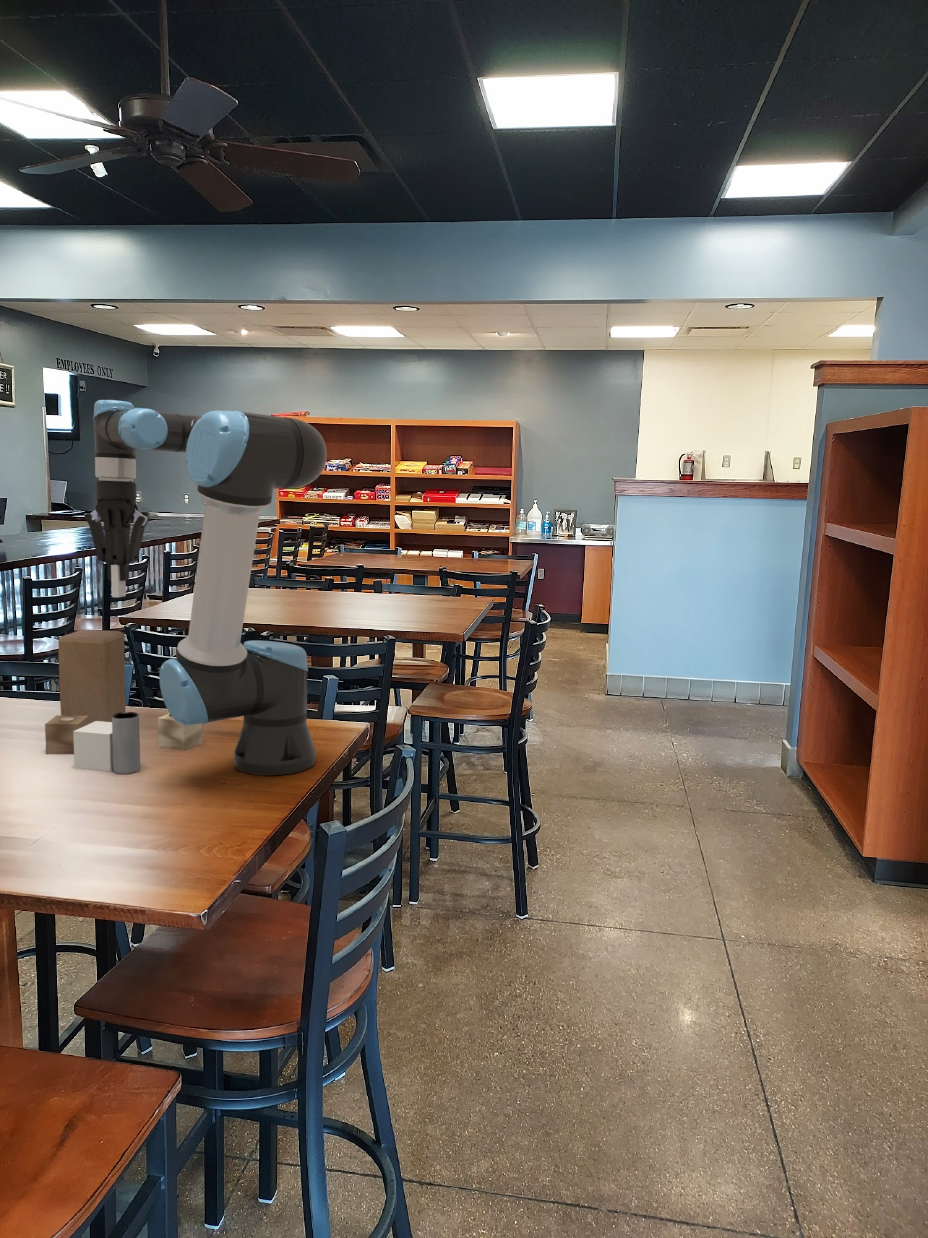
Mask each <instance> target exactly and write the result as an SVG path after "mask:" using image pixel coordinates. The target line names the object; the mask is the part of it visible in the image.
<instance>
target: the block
mask: <svg viewBox="0 0 928 1238" xmlns="http://www.w3.org/2000/svg"><path fill="white" fill-rule="evenodd" d="M57 644H58V672H59V673H58V674H59V675H58V676H59V699H60V715H70V716H89V724H90V723H93V722H95V721H103V722H112V715H114V714H116V713H121V712H127V711H126V681H125V680H126V677H125V673H126V671H125V668H126V667H125V635H124V632H122V631H120V630H97V629H96V630H95V629H80V630H78V631H77V630H76V631H73V632H70V633H68V634H65V635H62V636H59V638H58V640H57Z"/></svg>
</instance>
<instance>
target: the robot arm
mask: <svg viewBox="0 0 928 1238" xmlns="http://www.w3.org/2000/svg"><path fill="white" fill-rule="evenodd" d="M92 421H93V431H94V433H93V434H94V435H93V436H94V468H95V469H94V470H95V477H96V478H98V480H96V482H95V497H96V504H95V508H94V510H93V511H91V512H90V513H85V514H84V519H85V521H86V522H87V524H88V525H89V526H88V527H89V529H90V533H91V537H92V541H93V545H94V550H95V553H96V557H97V560H98V561H100V562H103V563H105V564H106V566H107V578H108V580H109V581H110V582H111V597H112V598H122V597H123V598H124V597H126V596H127V594H126V593H127V592H126V586H127V585H126V581H129V579H130V567H129V566H130V564H132V563H136V562H138V561H139V557H140V552H141V547H142V544H143V542H142V541H143V538H144V535H145V527H146V526H147V524H148V523H149V522H150V517H149V516H148V515H143V514H142V513H141V512H140V511H139V507H138V506H137V503H136V501H137V483H136V482H134V480H135V479H136V478H137V470H136V469H137V464H136V463H137V460H136V457H137V455H136V450H137V451H154V452H166V453H167V452H168V453H169V452H170V453H185V462H186V464H187V466H186V470H187V474H188V477H189V478H190V480H191V481H192V482H193V483H194V484H196V485H197V489H196V493H197V494H198V495H199V497H201V499H202V501H204V504H205V506H204V512H203V520H202V526H201V527H202V528H201V534H200V535H201V536H200V543H199V550H198V558H197V564H196V565H197V566H196V574H195V581H194V589H193V590H194V591H193V597H192V604H191V611H190V620H189V627H188V636H186V637H185V638H183V639H182V640H180V641H179V642H178V644H177V650H176V656H175V658H169V659H168V660H165V661H164V662H163V663H162V665H161V666H160V669H159V676H158V677H159V687H160V692H161V696H162V699H163V702H164V705H165V707H166V710H168V714H171V716H172V717H173V718H174V719H175V720H176V721H177V722H178V723H180V724H183V725H194V724H202V725H206V724H208V723H212V722H218V721H222V720H228V719H233V718H240V717H243V724H242V728H241V730H240V733H239V737H238V739H237V742H236V745H235V749H234V753H233V766H234V767H235V769H237V770H239V771H240V772H243V773H247V774H250V775H251V774H252V775H257V776H282V775H283V776H285V775H290V774H295V773H300V772H303V771H306V770H308V769H310V768H312V767H313V766H314V765H315V764H316V753H317V751H316V748H315V744H314V741H313V739H312V736H311V732H310V729H309V726H308V722H307V721H308V720H307V716H308V715H307V711H308V710H307V707H308V704H307V703H308V672H309V668H308V655H307V652H306V650H305V649H304V648H303V647H301V646H299V645H296V644H293V643H286V642H279V641H270V640H247V641H244V643H241V639H242V633H243V626H244V625H243V624H244V620H245V613H246V605H247V599H248V593H249V587H250V581H251V580H250V579H251V573H252V568H253V567H252V566H253V560H254V553H255V547H256V542H257V535H258V534H257V533H258V527H259V521H260V514H261V513H262V511H263V510H265V509H266V508H267V507H270V506H271V504H272V500H273V493H274V490H275V489H276V490H278V489H279V490H284V489H285V490H290V489H291V490H292V489H293V490H295V489H299V488H302V487H305V486H307V485H310V484H311V483H313V482H314V481H315V480H317V479H318V478H319V476H320V475H321V474H322V472H323V470H324V469H325V466H326V463H327V456H328V454H327V453H328V452H327V446H326V443H325V440H324V437H323V436H322V434H321V433H320V432H319V431H318V430H317V429H316V428H315V427H314V426H312V425H311V424H309V422H306V421H303V420H301V419H298V418H294V417H293V418H292V417H286V416H277V415H276V416H275V415H267V414H261V413H253V412H247V411H239V410H211V411H208V412H206V413H204V414H203V415H195V414H194V415H193V414H182V413H175V412H174V413H173V412H167V411H165V412H164V411H157V410H154V409H151V408H143V407H142V408H141V407H135V406H134V404H133V403H132V402H130V401H125V400H124V401H123V400H115V399H99V400H97V401H95V403H94V407H93V417H92ZM101 520H102V522H103V524H102V522H101ZM132 522H133V523H134V524H133V525H132V530H131V523H132ZM130 532H131V535H130ZM104 533H105V534H104Z"/></svg>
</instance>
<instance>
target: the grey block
mask: <svg viewBox="0 0 928 1238" xmlns="http://www.w3.org/2000/svg"><path fill="white" fill-rule="evenodd" d="M73 737H74V754H73V760H74V761H73V762H74V769H81V770H89V771H91V770H92V771H103V772H113V743H112V722H103V721H95V722H93V723H90V724H88V725H86V726H84V727H82V728H79V729H77V730H75V731H73Z"/></svg>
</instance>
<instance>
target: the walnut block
mask: <svg viewBox="0 0 928 1238" xmlns="http://www.w3.org/2000/svg"><path fill="white" fill-rule="evenodd" d="M88 724H89V716H70V715H61V714H60V715H59V714H58V715H55V716H54V717H52V718H51V719H50V720H48V721H47V722H45V723H44V730H45V731H44V732H45V733H44V735H45V737H44V738H45V755H74V737H73V731H75V730H77V729H79V728H82V727H84V726H86V725H88Z"/></svg>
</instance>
